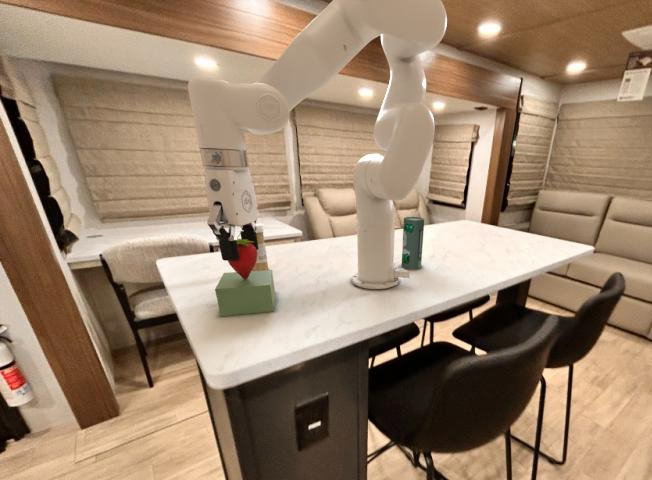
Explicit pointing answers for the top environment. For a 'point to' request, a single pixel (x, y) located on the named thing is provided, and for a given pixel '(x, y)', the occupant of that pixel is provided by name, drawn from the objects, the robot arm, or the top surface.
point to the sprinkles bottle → (260, 250)
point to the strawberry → (245, 258)
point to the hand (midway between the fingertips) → (241, 254)
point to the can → (412, 242)
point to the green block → (246, 293)
